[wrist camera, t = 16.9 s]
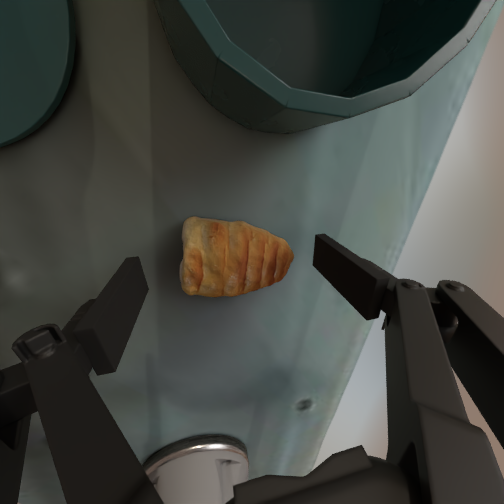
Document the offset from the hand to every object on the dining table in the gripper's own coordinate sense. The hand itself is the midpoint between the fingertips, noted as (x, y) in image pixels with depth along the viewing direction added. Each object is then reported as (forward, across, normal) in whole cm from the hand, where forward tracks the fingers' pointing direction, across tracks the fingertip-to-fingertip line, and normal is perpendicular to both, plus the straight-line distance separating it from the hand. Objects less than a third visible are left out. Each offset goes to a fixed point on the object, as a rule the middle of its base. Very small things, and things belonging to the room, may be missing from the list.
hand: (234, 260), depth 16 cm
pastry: (+3, 0, 0) cm, 3 cm away
